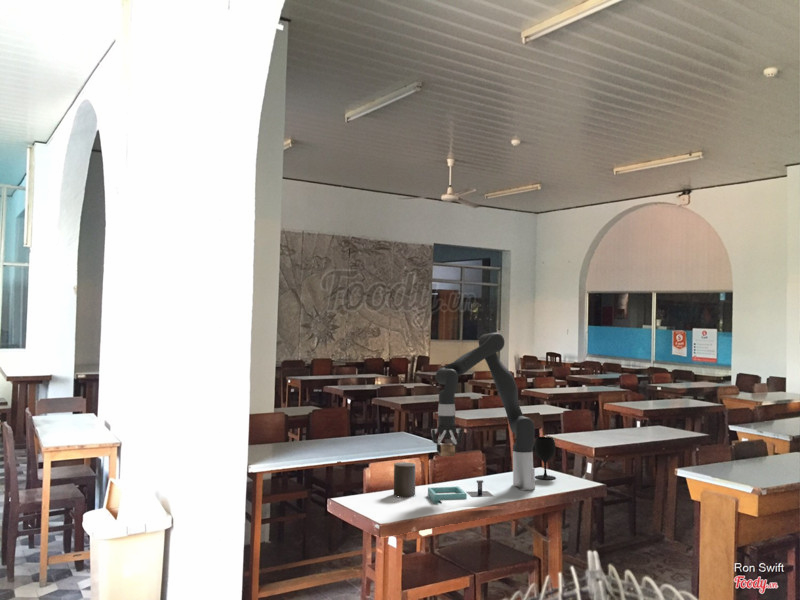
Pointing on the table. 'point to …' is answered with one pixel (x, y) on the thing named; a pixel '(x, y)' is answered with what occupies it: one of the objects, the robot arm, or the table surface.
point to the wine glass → (545, 454)
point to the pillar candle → (404, 479)
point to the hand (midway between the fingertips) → (446, 452)
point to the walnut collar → (447, 450)
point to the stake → (480, 491)
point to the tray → (438, 497)
